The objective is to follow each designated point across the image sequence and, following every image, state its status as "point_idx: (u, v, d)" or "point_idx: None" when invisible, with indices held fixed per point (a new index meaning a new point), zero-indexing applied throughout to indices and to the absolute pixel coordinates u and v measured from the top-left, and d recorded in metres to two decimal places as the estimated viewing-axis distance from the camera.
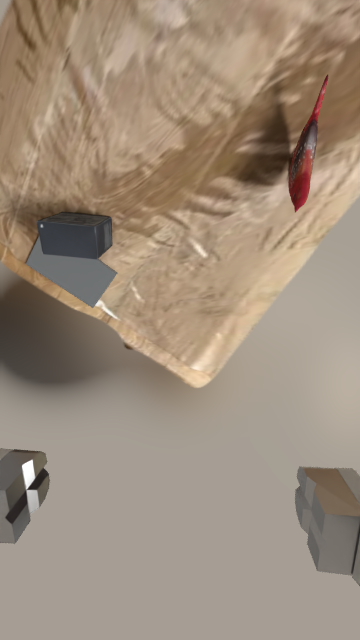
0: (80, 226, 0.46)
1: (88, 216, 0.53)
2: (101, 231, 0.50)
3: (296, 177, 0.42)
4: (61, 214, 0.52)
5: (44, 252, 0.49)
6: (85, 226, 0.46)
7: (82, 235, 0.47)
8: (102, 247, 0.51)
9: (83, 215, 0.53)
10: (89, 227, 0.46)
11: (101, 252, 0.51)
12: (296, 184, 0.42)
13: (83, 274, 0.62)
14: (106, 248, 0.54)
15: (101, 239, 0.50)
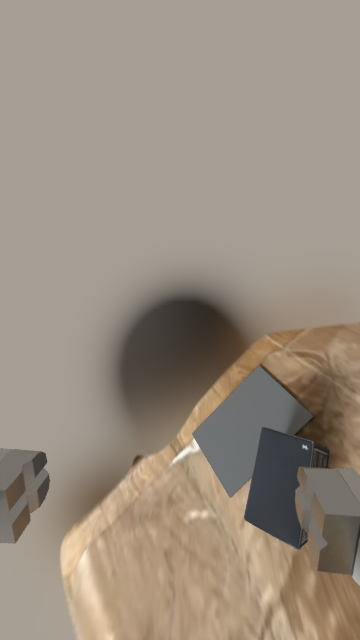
0: None
1: None
2: None
3: None
4: (324, 456, 0.34)
5: (264, 430, 0.33)
6: (300, 530, 0.27)
7: (285, 515, 0.28)
8: None
9: None
10: (298, 538, 0.26)
11: None
12: None
13: (235, 441, 0.44)
14: None
15: None
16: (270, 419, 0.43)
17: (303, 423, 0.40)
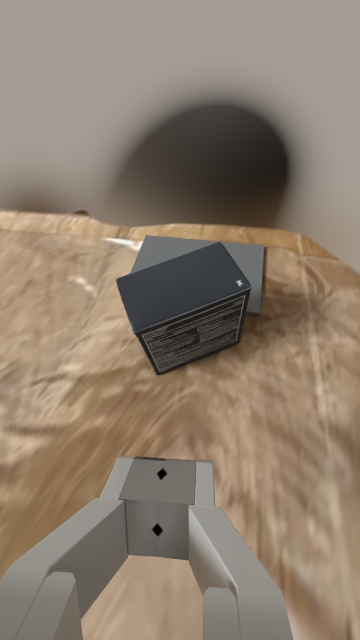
0: (163, 318, 0.21)
1: (188, 355, 0.28)
2: None
3: None
4: (233, 334, 0.28)
5: (218, 244, 0.24)
6: (153, 323, 0.20)
7: (154, 304, 0.21)
8: None
9: (198, 352, 0.28)
10: (144, 325, 0.20)
11: None
12: None
13: None
14: None
15: None
16: None
17: None
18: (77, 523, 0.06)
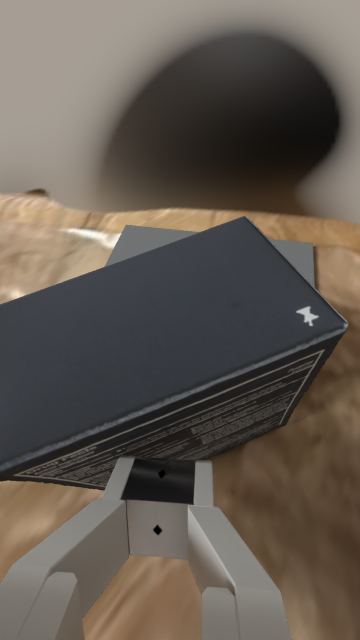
0: (71, 430, 0.07)
1: None
2: None
3: None
4: (277, 418, 0.13)
5: (240, 222, 0.10)
6: (39, 448, 0.06)
7: (57, 380, 0.07)
8: None
9: (203, 454, 0.13)
10: (9, 455, 0.06)
11: None
12: None
13: None
14: None
15: None
16: None
17: None
18: (78, 523, 0.06)
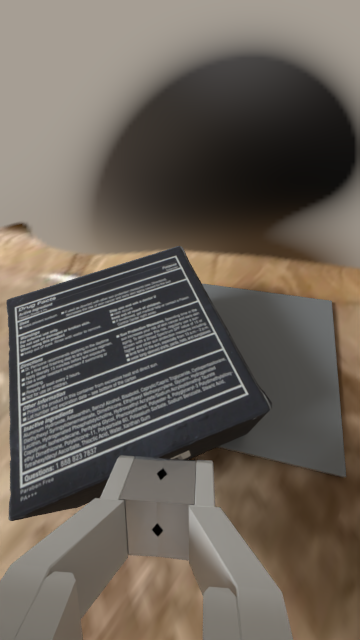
0: None
1: (106, 416, 0.11)
2: None
3: None
4: (218, 359, 0.12)
5: None
6: None
7: None
8: None
9: (136, 414, 0.11)
10: None
11: None
12: None
13: None
14: None
15: None
16: None
17: (309, 464, 0.15)
18: (77, 523, 0.06)
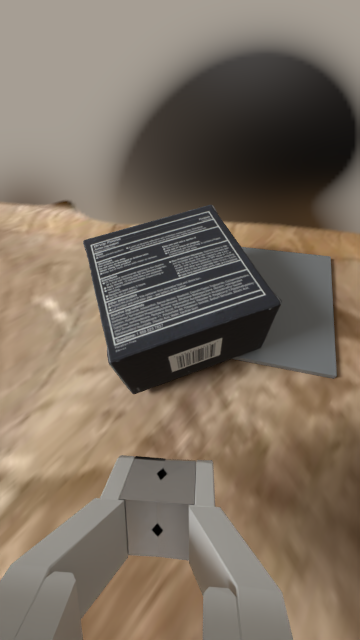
0: None
1: (167, 307, 0.15)
2: None
3: None
4: (244, 275, 0.16)
5: None
6: (105, 235, 0.20)
7: None
8: None
9: (188, 306, 0.15)
10: None
11: None
12: None
13: None
14: None
15: None
16: None
17: (308, 368, 0.19)
18: (77, 523, 0.06)
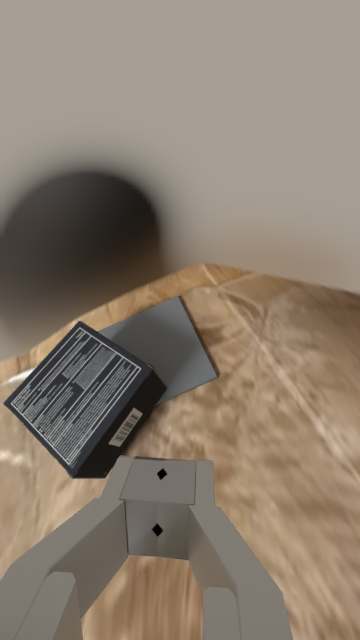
0: (24, 381, 0.25)
1: (88, 415, 0.22)
2: None
3: None
4: (123, 362, 0.24)
5: None
6: (17, 388, 0.25)
7: None
8: None
9: (100, 406, 0.22)
10: None
11: None
12: None
13: None
14: None
15: None
16: (161, 364, 0.30)
17: (200, 381, 0.28)
18: (77, 523, 0.06)
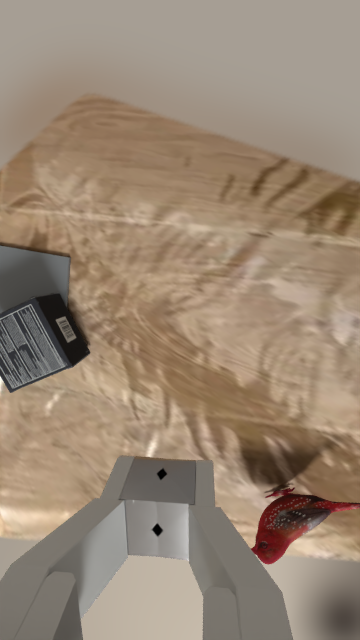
0: None
1: (44, 346, 0.35)
2: None
3: (280, 532, 0.37)
4: (21, 312, 0.34)
5: None
6: (4, 382, 0.37)
7: None
8: None
9: (42, 338, 0.34)
10: (7, 386, 0.37)
11: None
12: (275, 539, 0.37)
13: None
14: None
15: None
16: (41, 287, 0.40)
17: (66, 270, 0.39)
18: (77, 523, 0.06)
